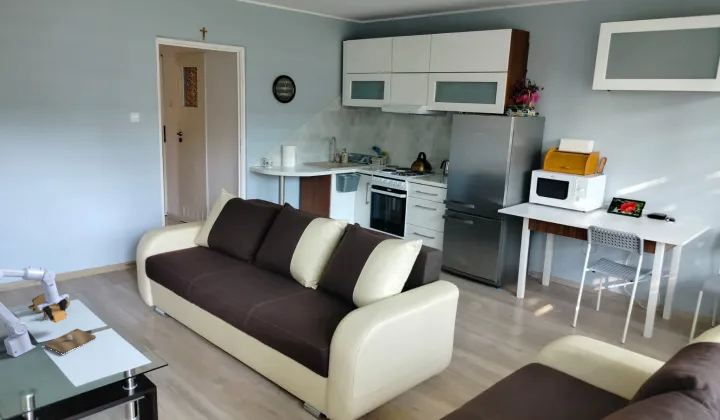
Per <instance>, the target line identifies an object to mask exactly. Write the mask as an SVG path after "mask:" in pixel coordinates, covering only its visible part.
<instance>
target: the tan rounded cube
mask: <svg viewBox="0 0 720 420" xmlns="http://www.w3.org/2000/svg"><path fill="white" fill-rule="evenodd" d="M65 314H66V310H65V311H63V310H61V309H57V310H55V311H53V312H52V315H53V319H54V320H50V319H49V321H50V322H52V323H55V324H57V323H59V322H62V321H64V320H65V319H67V315H65Z"/></svg>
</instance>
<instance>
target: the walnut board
mask: <svg viewBox="0 0 720 420" xmlns="http://www.w3.org/2000/svg"><path fill="white" fill-rule="evenodd" d="M95 338H96V339H97V337H96V335H95V334H92V333H89V332H87V331H85V330H82V329H79V328H75V329H73V330H71V331H69V332H67V333H65V334H63V335H60V336H59V337H57V338H55V339H52V340H51V341H48V342H47V343H45V344H44V348H46V349H48V348H49V350H50V349H52V350H54V351H53V352H55V351H57V352H59V353H62V354H64V353H66V352H68V351H70V350H72V349H74V348H77V347H79V346H80V347H82V346H84V345H86V344H88V343H90V342H92V341H94V340H95ZM93 339H94V340H93ZM91 340H92V341H91ZM89 341H90V342H89ZM83 344H84V345H83ZM80 347H79V348H80ZM77 349H78V348H77ZM52 350H51V351H52ZM57 352H56V353H57ZM59 353H58V354H59Z"/></svg>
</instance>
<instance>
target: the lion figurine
mask: <svg viewBox="0 0 720 420" xmlns="http://www.w3.org/2000/svg"><path fill="white" fill-rule="evenodd" d="M65 300H67V304H66V308H65V310H67V309H68V308H69V306H70V304H71V301H70V297H69V298H68V299H65ZM49 307H50V308H52V312H53V311H55V310H57V309H60V307H59V304H57V305H56V306H49ZM65 315H66V316H67V313H65ZM47 318H48V319H49V317H48V315H47V314H46V313H45V312H43V317H42V320H41V321H44V320H45V319H46V320H48V319H47Z"/></svg>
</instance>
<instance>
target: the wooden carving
mask: <svg viewBox="0 0 720 420" xmlns="http://www.w3.org/2000/svg"><path fill="white" fill-rule="evenodd" d="M31 301H32V304H31V305H29V306H27V307H28V310H32V312H34V313H44V311H43V310H38V308H37V306H39V305H41V304H42V303H44V302H46V299H45V295H44V293H41V294H39V295H37V296H35V297H34V298H32V300H31ZM57 304H58V303H56V304H53V305H51V306H56V305H57Z"/></svg>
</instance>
